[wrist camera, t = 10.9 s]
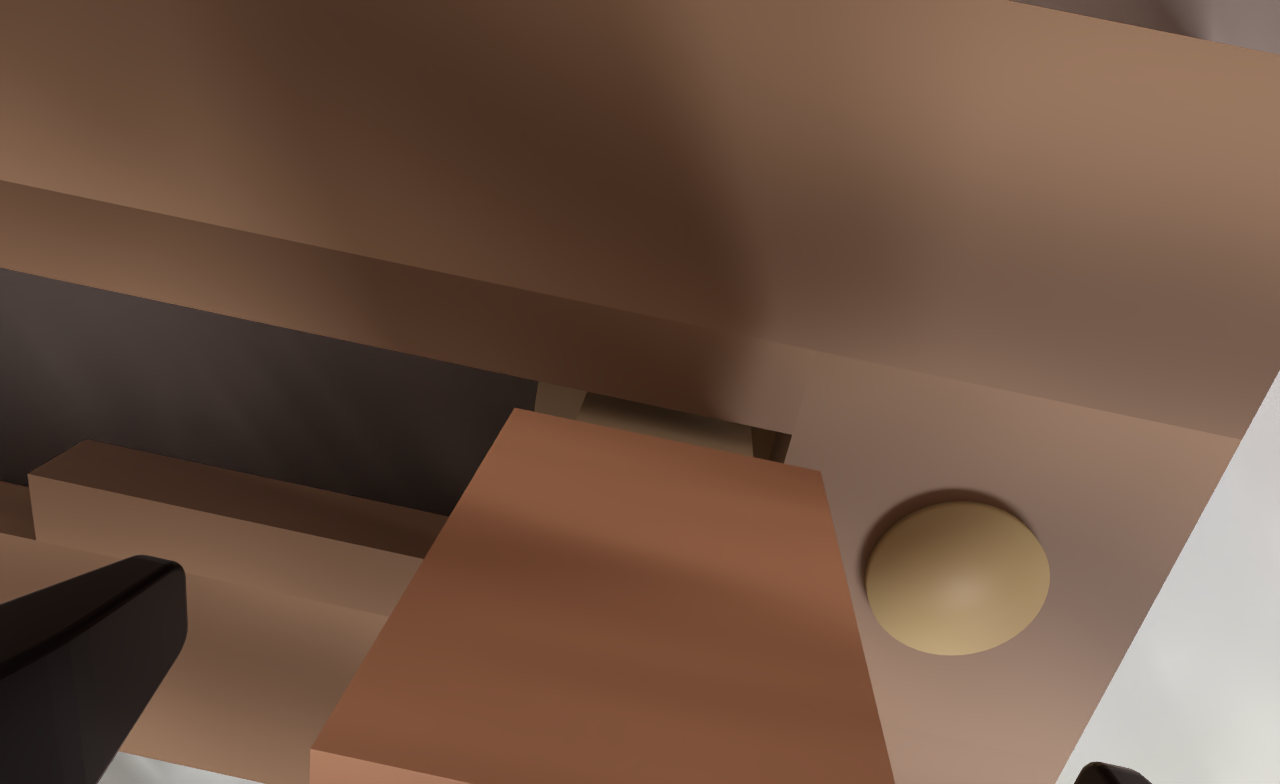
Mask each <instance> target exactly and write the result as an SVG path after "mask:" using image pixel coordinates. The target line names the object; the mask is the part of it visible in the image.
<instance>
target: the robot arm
mask: <svg viewBox="0 0 1280 784" xmlns="http://www.w3.org/2000/svg"><path fill="white" fill-rule="evenodd" d="M187 632H188V615H187V593H186V576H185V571H184V569H183V567H182V566H181V564H179V563H177V562H175V561H171V560H167V559H162V558H158V557H153V556H148V555H135V556H132V557H129V558H126V559H123V560H120V561H118V562H115V563H112V564H109V565H107V566H104V567H101V568H98V569H96V570H93V571H90V572H87V573H85V574H82V575H79V576H76V577H74V578H71V579H68V580H65V581H63V582H60V583H57V584H54V585H52V586H49V587H46V588H43V589H41V590H38V591H35V592H32V593H30V594H27V595H24V596H21V597H19V598H16V599H13V600H10V601H8V602H5V603H2V604H0V784H97V783H98V782H99V780H100V779H101V777H102V776H103V774H104V773H105V771H106V770H107V768H108V766H109V765H110V763H111V762H112V760H113V759H114V757H115V755H116V754H117V752H118V751H119V749H120V747H121V746H122V744H123V743H124V741H125V740H126V738H127V736H128V735H129V733H130V732H131V730H132V728H133V727H134V725H135V724H136V722H137V721H138V719H139V717H140V716H141V714H142V713H143V711H144V710H145V708H146V706H147V705H148V703H149V702H150V700H151V698H152V697H153V695H154V694H155V692H156V691H157V689H158V687H159V686H160V684H161V683H162V681H163V679H164V678H165V676H166V675H167V673H168V672H169V670H170V668H171V667H172V665H173V664H174V662H175V660H176V659H177V657H178V656H179V654H180V652H181V650H182V648H183V646H184V643H185V640H186V637H187ZM1074 784H1152V783H1150V782H1149V781H1148V780H1147V779H1146V778H1145V777H1144V776H1142V775H1141V774H1140V773H1138V772H1136V771H1135V770H1132V769H1129V768H1125V767H1121V766H1116V765H1111V764H1107V763H1102V762H1091V763H1089V764H1087V765H1086V766H1084V768H1083V769H1082V770H1081V772H1080V774H1079V775H1078V777H1077V779H1076V781H1075V783H1074Z"/></svg>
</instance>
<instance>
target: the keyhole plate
mask: <svg viewBox="0 0 1280 784" xmlns="http://www.w3.org/2000/svg"><path fill="white" fill-rule="evenodd" d="M0 268H4V269H9V270H13V271H18V272H23V273H28V274H32V275H37V276H42V277H47V278H51V279H56V280H61V281H66V282H70V283H75V284H80V285H85V286H89V287H94V288H99V289H104V290H108V291H113V292H118V293H122V294H127V295H132V296H137V297H141V298H146V299H151V300H156V301H160V302H165V303H170V304H175V305H179V306H184V307H189V308H194V309H198V310H203V311H208V312H213V313H217V314H222V315H227V316H231V317H236V318H241V319H246V320H250V321H255V322H260V323H265V324H269V325H274V326H279V327H284V328H288V329H293V330H298V331H303V332H307V333H312V334H317V335H322V336H326V337H331V338H336V339H340V340H345V341H350V342H355V343H359V344H364V345H369V346H374V347H378V348H383V349H388V350H393V351H397V352H402V353H407V354H412V355H416V356H421V357H426V358H431V359H435V360H440V361H445V362H450V363H454V364H459V365H464V366H468V367H473V368H478V369H483V370H487V371H492V372H497V373H502V374H506V375H511V376H516V377H521V378H525V379H530V380H535V381H540V382H544V383H549V384H554V385H559V386H563V387H568V388H573V389H577V390H582V391H587V392H592V393H596V394H601V395H606V396H611V397H615V398H620V399H625V400H630V401H634V402H639V403H644V404H649V405H653V406H658V407H663V408H668V409H672V410H677V411H682V412H686V413H691V414H696V415H701V416H705V417H710V418H715V419H720V420H724V421H729V422H734V423H739V424H743V425H748V426H753V427H758V428H762V429H767V430H772V431H777V432H776V435H775V439H774V442H773V446H772V449H771V453H770V456H769V461H774V462H779V463H784V464H789V465H793V466H798V467H803V468H808V469H813V470H817V471H821V475H822V479H823V483H824V487H825V492H826V496H827V500H828V504H829V508H830V512H831V517H832V521H833V525H834V529H835V533H836V538H837V542H838V546H839V550H840V554H841V559H842V563H843V567H844V571H845V575H846V580H847V584H848V588H849V592H850V596H851V600H852V605H853V609H854V613H855V617H856V621H857V626H858V630H859V634H860V638H861V642H862V647H863V651H864V655H865V659H866V663H867V667H868V672H869V676H870V680H871V684H872V688H873V693H874V697H875V701H876V705H877V709H878V714H879V718H880V722H881V726H882V730H883V735H884V739H885V743H886V747H887V751H888V755H889V760H890V764H891V768H892V772H893V776H894V781H895V784H1055V783H1056V781H1057V779H1058V777H1059V775H1060V774H1061V772H1062V770H1063V768H1064V766H1065V764H1066V762H1067V761H1068V759H1069V757H1070V755H1071V753H1072V751H1073V750H1074V748H1075V746H1076V744H1077V742H1078V740H1079V739H1080V737H1081V735H1082V733H1083V731H1084V729H1085V727H1086V726H1087V724H1088V722H1089V720H1090V718H1091V716H1092V715H1093V713H1094V711H1095V709H1096V707H1097V705H1098V704H1099V702H1100V700H1101V698H1102V696H1103V694H1104V693H1105V691H1106V689H1107V687H1108V685H1109V683H1110V681H1111V680H1112V678H1113V676H1114V674H1115V672H1116V670H1117V669H1118V667H1119V665H1120V663H1121V661H1122V659H1123V658H1124V656H1125V654H1126V652H1127V650H1128V648H1129V646H1130V645H1131V643H1132V641H1133V639H1134V637H1135V635H1136V634H1137V632H1138V630H1139V628H1140V626H1141V624H1142V623H1143V621H1144V619H1145V617H1146V615H1147V613H1148V611H1149V610H1150V608H1151V606H1152V604H1153V602H1154V600H1155V599H1156V597H1157V595H1158V593H1159V591H1160V589H1161V588H1162V586H1163V584H1164V582H1165V580H1166V578H1167V576H1168V575H1169V573H1170V571H1171V569H1172V567H1173V565H1174V564H1175V562H1176V560H1177V558H1178V556H1179V554H1180V553H1181V551H1182V549H1183V547H1184V545H1185V543H1186V542H1187V540H1188V538H1189V536H1190V534H1191V532H1192V530H1193V529H1194V527H1195V525H1196V523H1197V521H1198V519H1199V518H1200V516H1201V514H1202V512H1203V510H1204V508H1205V507H1206V505H1207V503H1208V501H1209V499H1210V497H1211V495H1212V494H1213V492H1214V490H1215V488H1216V486H1217V484H1218V483H1219V481H1220V479H1221V477H1222V475H1223V473H1224V472H1225V470H1226V468H1227V466H1228V464H1229V462H1230V460H1231V459H1232V457H1233V455H1234V453H1235V451H1236V449H1237V448H1238V446H1239V444H1240V442H1241V440H1242V438H1243V437H1244V435H1245V433H1246V431H1247V429H1248V427H1249V425H1250V424H1251V422H1252V420H1253V418H1254V416H1255V414H1256V413H1257V411H1258V409H1259V407H1260V405H1261V403H1262V402H1263V400H1264V398H1265V396H1266V394H1267V392H1268V391H1269V389H1270V387H1271V385H1272V383H1273V381H1274V379H1275V378H1276V376H1277V374H1278V372H1279V370H1280V55H1277V54H1272V53H1268V52H1263V51H1258V50H1253V49H1248V48H1243V47H1238V46H1233V45H1228V44H1223V43H1218V42H1213V41H1208V40H1203V39H1198V38H1193V37H1188V36H1183V35H1178V34H1173V33H1168V32H1163V31H1158V30H1153V29H1148V28H1144V27H1139V26H1134V25H1129V24H1124V23H1119V22H1114V21H1109V20H1104V19H1099V18H1094V17H1089V16H1084V15H1079V14H1074V13H1069V12H1064V11H1059V10H1054V9H1049V8H1044V7H1039V6H1034V5H1029V4H1024V3H1020V2H1015V1H1010V0H0ZM27 475H28V483H29V487H28V486H23V485H19V484H14V483H9V482H5V481H0V604H2V603H5V602H8V601H10V600H13V599H16V598H19V597H21V596H24V595H27V594H30V593H32V592H35V591H38V590H41V589H43V588H46V587H49V586H52V585H54V584H57V583H60V582H63V581H65V580H68V579H71V578H74V577H76V576H79V575H82V574H85V573H87V572H90V571H93V570H96V569H98V568H101V567H104V566H107V565H109V564H112V563H115V562H118V561H120V560H123V559H126V558H129V557H132V556H135V555H148V556H153V557H158V558H162V559H167V560H171V561H175V562H177V563H179V564H181V566H182V567H183V569H184V571H185V576H186V593H187V615H188V632H187V637H186V640H185V643H184V646H183V648H182V650H181V652H180V654H179V656H178V657H177V659H176V660H175V662H174V664H173V665H172V667H171V668H170V670H169V672H168V673H167V675H166V676H165V678H164V679H163V681H162V683H161V684H160V686H159V687H158V689H157V691H156V692H155V694H154V695H153V697H152V698H151V700H150V702H149V703H148V705H147V706H146V708H145V710H144V711H143V713H142V714H141V716H140V717H139V719H138V721H137V722H136V724H135V725H134V727H133V728H132V730H131V732H130V733H129V735H128V736H127V738H126V740H125V741H124V743H123V744H122V746H121V747H120V749H119V751H120V752H125V753H129V754H134V755H138V756H143V757H147V758H152V759H157V760H161V761H166V762H170V763H175V764H179V765H184V766H188V767H193V768H197V769H202V770H207V771H211V772H216V773H220V774H225V775H229V776H234V777H238V778H243V779H247V780H252V781H257V782H261V783H266V784H309V782H310V749H311V747H312V745H313V744H314V742H315V740H316V739H317V737H318V735H319V733H320V732H321V730H322V728H323V727H324V725H325V723H326V722H327V720H328V718H329V717H330V715H331V713H332V712H333V710H334V708H335V707H336V705H337V703H338V702H339V700H340V698H341V697H342V695H343V693H344V692H345V690H346V688H347V687H348V685H349V683H350V682H351V680H352V678H353V677H354V675H355V673H356V672H357V670H358V668H359V667H360V665H361V663H362V662H363V660H364V658H365V657H366V655H367V653H368V652H369V650H370V648H371V647H372V645H373V643H374V642H375V640H376V638H377V637H378V635H379V633H380V632H381V630H382V628H383V627H384V625H385V623H386V622H387V620H388V618H389V617H390V615H391V613H392V612H393V610H394V608H395V607H396V605H397V603H398V602H399V600H400V598H401V597H402V595H403V593H404V592H405V590H406V588H407V587H408V585H409V583H410V582H411V580H412V578H413V577H414V575H415V573H416V572H417V570H418V568H419V566H420V565H421V563H422V561H423V560H424V558H425V556H426V555H427V553H428V551H429V550H430V548H431V546H432V545H433V543H434V541H435V540H436V538H437V536H438V535H439V533H440V531H441V530H442V528H443V526H444V525H445V523H446V521H447V520H448V518H449V517H448V516H443V515H439V514H434V513H429V512H425V511H420V510H415V509H411V508H406V507H401V506H397V505H392V504H387V503H383V502H378V501H373V500H369V499H364V498H359V497H355V496H350V495H345V494H341V493H336V492H331V491H327V490H322V489H317V488H313V487H308V486H303V485H299V484H294V483H289V482H285V481H280V480H275V479H271V478H266V477H261V476H257V475H252V474H247V473H243V472H238V471H233V470H229V469H224V468H219V467H214V466H210V465H205V464H200V463H196V462H191V461H186V460H182V459H177V458H172V457H168V456H163V455H158V454H154V453H149V452H144V451H140V450H135V449H130V448H126V447H121V446H116V445H112V444H107V443H102V442H98V441H93V440H88V439H85V440H83V441H82V442H80V443H78V444H77V445H75V446H73V447H72V448H70V449H68V450H67V451H65V452H63V453H62V454H60V455H58V456H56V457H55V458H53V459H51V460H50V461H48V462H46V463H45V464H43V465H41V466H40V467H38V468H36V469H35V470H33V471H31V472H30V473H28V474H27Z"/></svg>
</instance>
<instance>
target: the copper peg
mask: <svg viewBox="0 0 1280 784" xmlns="http://www.w3.org/2000/svg"><path fill="white" fill-rule="evenodd" d="M776 432H777V431H772V430H767V429H762V428H758V427H753V426H748V425H743V424H739V423H734V422H729V421H724V420H720V419H715V418H710V417H705V416H701V415H696V414H691V413H686V412H682V411H677V410H672V409H668V408H663V407H658V406H653V405H649V404H644V403H639V402H634V401H630V400H625V399H620V398H615V397H611V396H606V395H601V394H596V393H592V392H587V391H582V390H577V389H573V388H568V387H563V386H559V385H554V384H549V383H544V382H540V381H538V387H537V394H536V401H535V408H534V412H533V411H528V410H523V409H518V408H514V410H513V411H512V413H511V415H510V416H509V418H508V420H507V421H506V423H505V425H504V426H503V428H502V430H501V431H500V433H499V435H498V436H497V438H496V440H495V441H494V443H493V445H492V446H491V448H490V450H489V451H488V453H487V455H486V456H485V458H484V460H483V461H482V463H481V465H480V466H479V468H478V470H477V471H476V473H475V475H474V476H473V478H472V480H471V481H470V483H469V485H468V486H467V488H466V490H465V491H464V493H463V495H462V496H461V498H460V500H459V501H458V503H457V505H456V506H455V508H454V510H453V511H452V513H451V515H450V516H449V518H448V520H447V521H446V523H445V525H444V526H443V528H442V530H441V531H440V533H439V535H438V536H437V538H436V540H435V541H434V543H433V545H432V546H431V548H430V550H429V551H428V553H427V555H426V556H425V558H424V560H423V561H422V563H421V565H420V566H419V568H418V570H417V572H416V573H415V575H414V577H413V578H412V580H411V582H410V583H409V585H408V587H407V588H406V590H405V592H404V593H403V595H402V597H401V598H400V600H399V602H398V603H397V605H396V607H395V608H394V610H393V612H392V613H391V615H390V617H389V618H388V620H387V622H386V623H385V625H384V627H383V628H382V630H381V632H380V633H379V635H378V637H377V638H376V640H375V642H374V643H373V645H372V647H371V648H370V650H369V652H368V653H367V655H366V657H365V658H364V660H363V662H362V663H361V665H360V667H359V668H358V670H357V672H356V673H355V675H354V677H353V678H352V680H351V682H350V683H349V685H348V687H347V688H346V690H345V692H344V693H343V695H342V697H341V698H340V700H339V702H338V703H337V705H336V707H335V708H334V710H333V712H332V713H331V715H330V717H329V718H328V720H327V722H326V723H325V725H324V727H323V728H322V730H321V732H320V733H319V735H318V737H317V739H316V740H315V742H314V744H313V745H312V747H311V749H310V782H309V784H895V781H894V776H893V772H892V768H891V764H890V760H889V755H888V751H887V747H886V743H885V739H884V735H883V730H882V726H881V722H880V718H879V714H878V709H877V705H876V701H875V697H874V693H873V688H872V684H871V680H870V676H869V672H868V667H867V663H866V659H865V655H864V651H863V647H862V642H861V638H860V634H859V630H858V626H857V621H856V617H855V613H854V609H853V605H852V600H851V596H850V592H849V588H848V584H847V580H846V575H845V571H844V567H843V563H842V559H841V554H840V550H839V546H838V542H837V538H836V533H835V529H834V525H833V521H832V517H831V512H830V508H829V504H828V500H827V496H826V492H825V487H824V483H823V479H822V475H821V471H817V470H813V469H808V468H803V467H798V466H793V465H789V464H784V463H779V462H774V461H769V456H770V453H771V449H772V446H773V442H774V439H775V435H776Z"/></svg>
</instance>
